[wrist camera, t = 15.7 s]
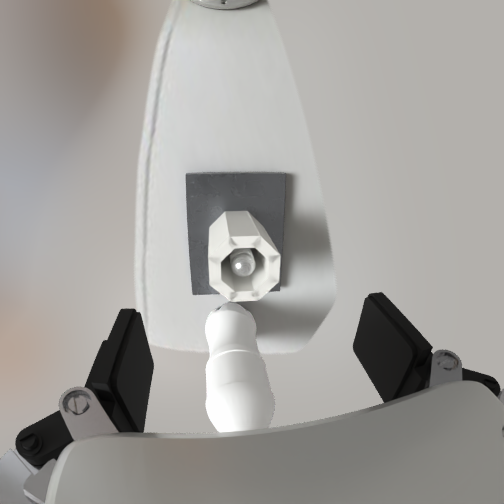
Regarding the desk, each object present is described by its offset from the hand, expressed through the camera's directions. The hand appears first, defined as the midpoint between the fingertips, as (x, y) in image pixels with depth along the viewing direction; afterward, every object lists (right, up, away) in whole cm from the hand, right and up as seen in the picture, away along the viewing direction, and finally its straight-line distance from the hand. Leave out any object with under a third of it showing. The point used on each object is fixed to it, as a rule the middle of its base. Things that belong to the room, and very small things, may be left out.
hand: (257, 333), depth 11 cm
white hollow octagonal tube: (-2, +5, +24) cm, 25 cm away
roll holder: (-2, +6, +26) cm, 26 cm away
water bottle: (-4, -6, +31) cm, 31 cm away
